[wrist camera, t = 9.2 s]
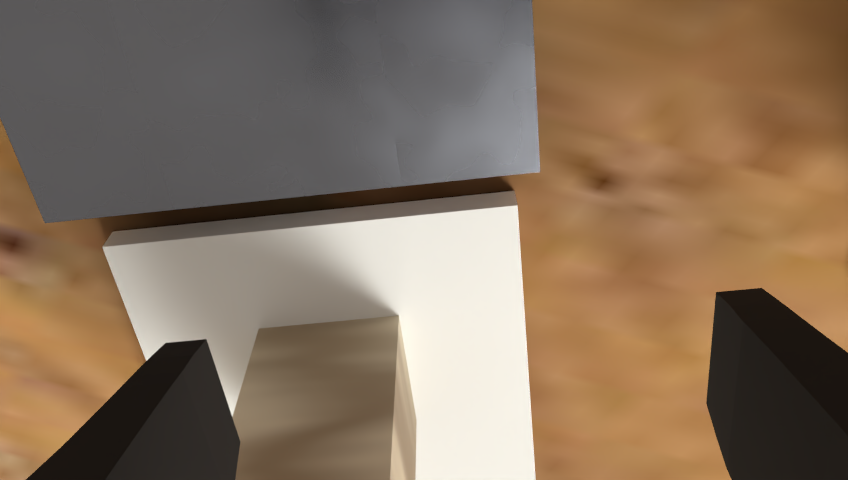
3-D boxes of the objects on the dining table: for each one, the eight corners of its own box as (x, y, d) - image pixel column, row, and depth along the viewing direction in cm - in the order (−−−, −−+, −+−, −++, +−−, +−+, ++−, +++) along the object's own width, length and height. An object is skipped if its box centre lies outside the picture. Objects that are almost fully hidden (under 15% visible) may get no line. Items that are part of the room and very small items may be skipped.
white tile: (514, 190, 21) (517, 205, 20) (534, 479, 27) (536, 497, 26) (112, 231, 22) (102, 247, 21) (214, 503, 27) (208, 522, 27)
